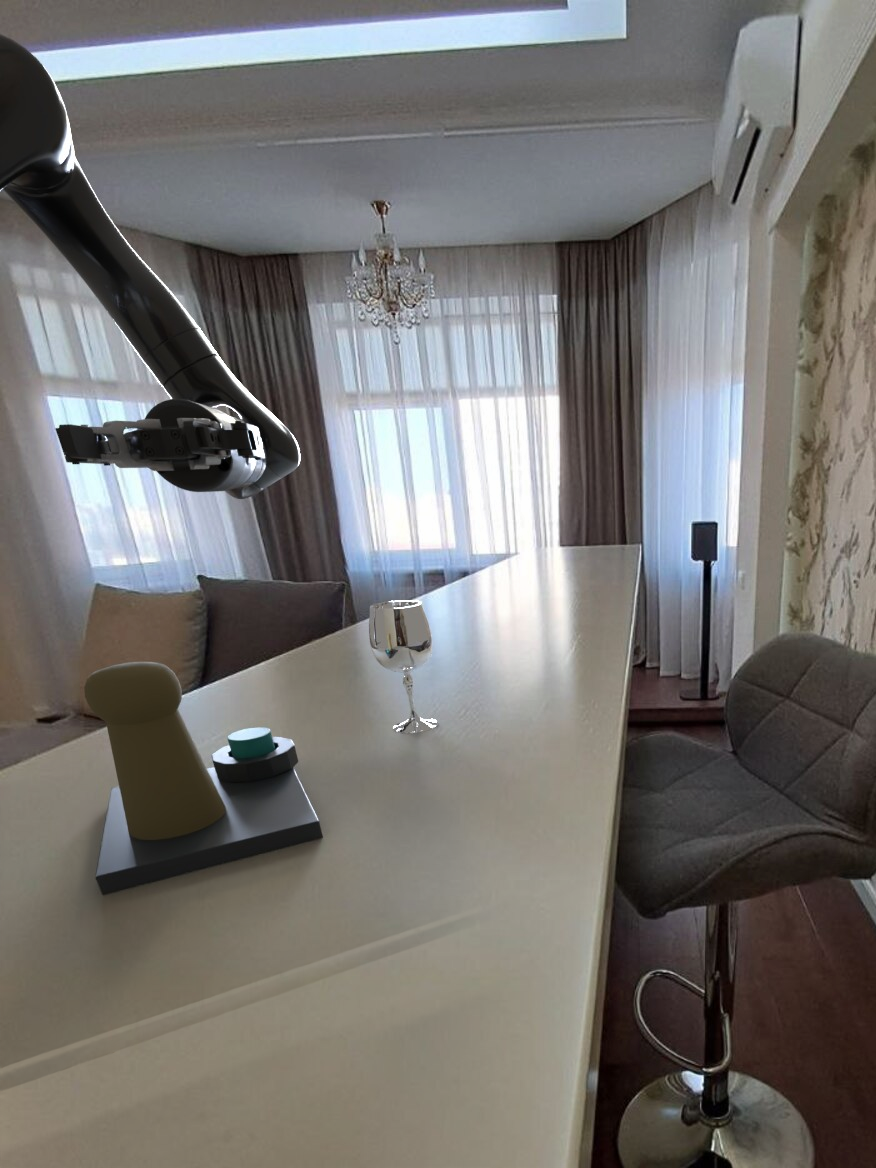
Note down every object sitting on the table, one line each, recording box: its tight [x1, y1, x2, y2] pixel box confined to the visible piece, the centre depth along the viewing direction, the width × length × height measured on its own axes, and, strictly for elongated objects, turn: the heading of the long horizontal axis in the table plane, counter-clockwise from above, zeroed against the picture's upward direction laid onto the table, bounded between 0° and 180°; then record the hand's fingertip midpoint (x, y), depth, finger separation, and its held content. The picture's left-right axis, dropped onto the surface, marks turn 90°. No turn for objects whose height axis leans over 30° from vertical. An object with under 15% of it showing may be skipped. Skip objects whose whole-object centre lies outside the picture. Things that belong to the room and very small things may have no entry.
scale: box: [94, 736, 324, 896], centre depth 51 cm, size 16×14×3 cm
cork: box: [83, 661, 226, 840], centre depth 46 cm, size 6×6×11 cm
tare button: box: [227, 726, 275, 759], centre depth 55 cm, size 3×3×2 cm
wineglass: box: [368, 600, 439, 734], centre depth 66 cm, size 6×6×12 cm
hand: (130, 438), depth 51 cm, fingers open, 8 cm apart
